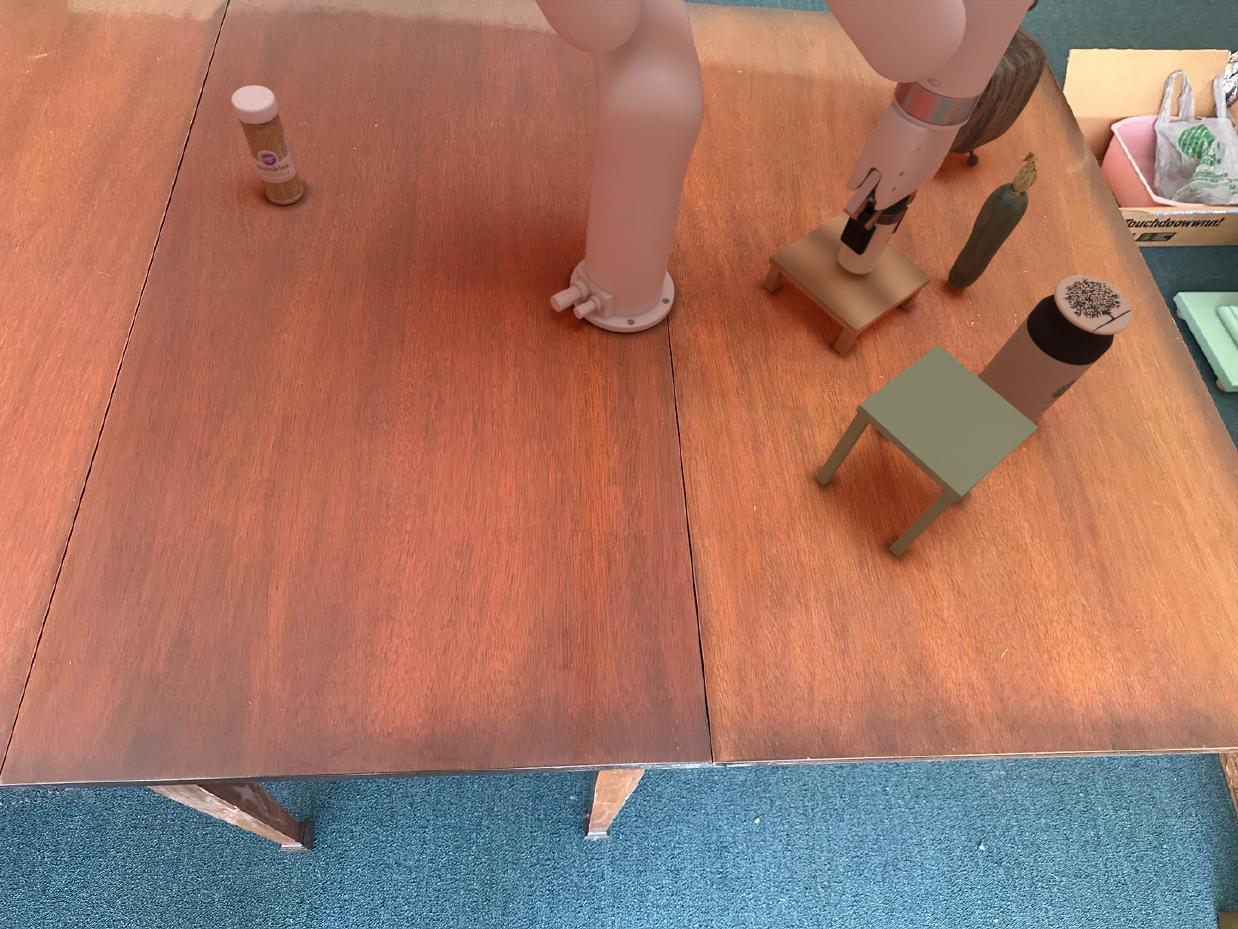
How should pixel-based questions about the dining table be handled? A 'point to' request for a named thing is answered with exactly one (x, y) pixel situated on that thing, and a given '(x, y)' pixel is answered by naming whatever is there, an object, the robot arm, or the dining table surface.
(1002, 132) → the tabletop clock
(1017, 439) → the tall stand
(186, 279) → the dining table surface
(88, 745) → the dining table surface
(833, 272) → the low shelf
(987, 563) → the dining table surface
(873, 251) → the spice jar
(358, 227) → the dining table surface
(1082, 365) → the travel mug
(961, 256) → the vegetable
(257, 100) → the sprinkles bottle
